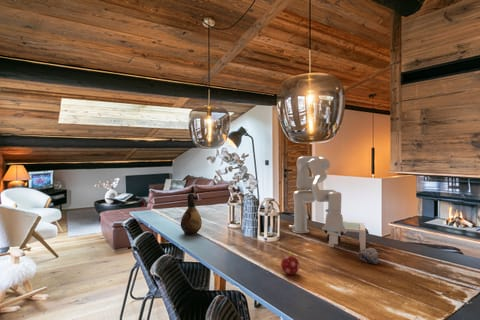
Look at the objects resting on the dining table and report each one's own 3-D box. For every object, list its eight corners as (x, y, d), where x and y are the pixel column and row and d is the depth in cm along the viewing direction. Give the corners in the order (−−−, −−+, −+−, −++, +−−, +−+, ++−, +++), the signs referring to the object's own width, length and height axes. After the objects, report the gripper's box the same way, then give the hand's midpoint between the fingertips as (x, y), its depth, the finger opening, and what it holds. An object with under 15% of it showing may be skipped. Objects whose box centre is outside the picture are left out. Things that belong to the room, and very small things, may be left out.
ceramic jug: (205, 234, 203) (205, 193, 203) (185, 238, 194) (185, 195, 194) (195, 229, 217) (195, 191, 217) (176, 232, 208) (176, 192, 208)
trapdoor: (334, 228, 179) (334, 226, 179) (335, 223, 192) (335, 221, 192) (359, 230, 173) (359, 228, 173) (358, 225, 186) (358, 223, 186)
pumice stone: (361, 268, 148) (381, 265, 145) (357, 253, 149) (377, 250, 145) (360, 260, 158) (379, 258, 154) (356, 247, 158) (374, 244, 155)
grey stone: (329, 243, 168) (329, 235, 168) (329, 240, 173) (329, 232, 173) (337, 244, 166) (338, 236, 166) (338, 241, 171) (338, 233, 171)
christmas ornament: (286, 268, 141) (286, 249, 141) (302, 273, 135) (302, 252, 135) (277, 274, 134) (277, 253, 134) (293, 279, 128) (293, 257, 128)
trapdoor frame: (328, 246, 177) (328, 227, 177) (330, 237, 196) (331, 220, 196) (365, 250, 169) (365, 230, 169) (364, 241, 188) (364, 223, 188)
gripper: (319, 212, 169) (318, 241, 169) (349, 214, 162) (348, 245, 163) (320, 209, 175) (319, 238, 176) (349, 212, 169) (348, 241, 170)
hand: (333, 241), depth 169 cm, fingers closed on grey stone, 5 cm apart
